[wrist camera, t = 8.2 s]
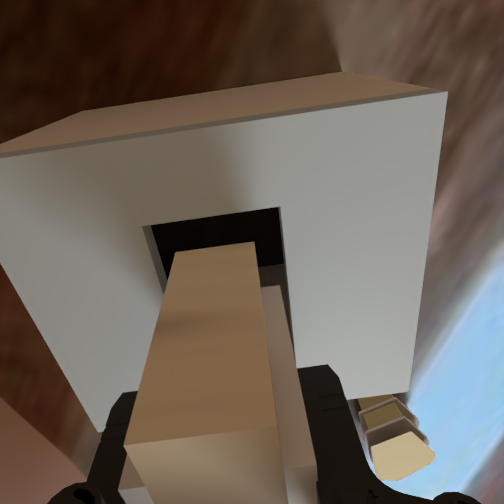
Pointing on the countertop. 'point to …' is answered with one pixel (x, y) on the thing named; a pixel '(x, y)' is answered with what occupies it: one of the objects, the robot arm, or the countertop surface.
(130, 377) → the slot box
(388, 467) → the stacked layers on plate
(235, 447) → the tan rectangular block
